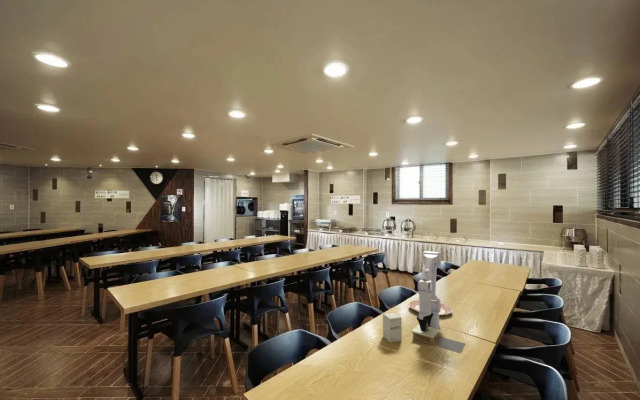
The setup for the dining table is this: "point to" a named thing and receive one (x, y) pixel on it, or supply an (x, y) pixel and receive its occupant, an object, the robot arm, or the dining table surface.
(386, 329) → the supplement box
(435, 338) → the box
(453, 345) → the mat
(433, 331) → the lid
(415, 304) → the dinner plate
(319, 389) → the dining table surface
